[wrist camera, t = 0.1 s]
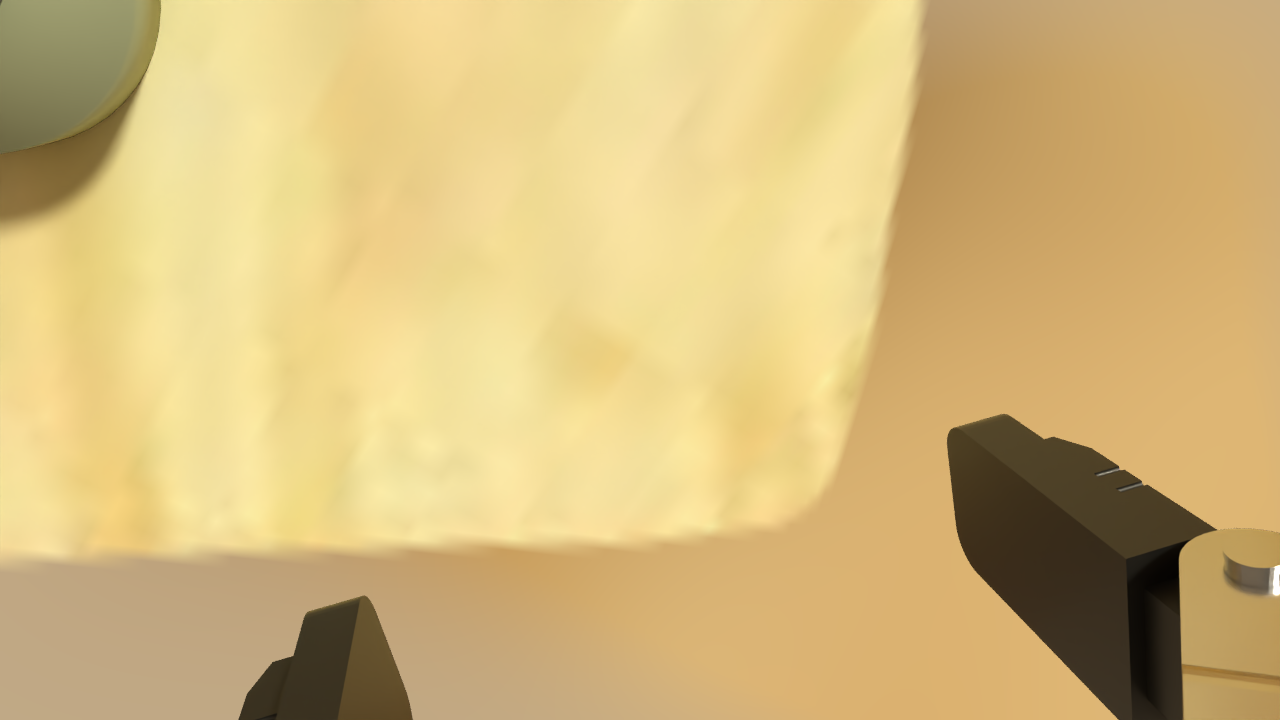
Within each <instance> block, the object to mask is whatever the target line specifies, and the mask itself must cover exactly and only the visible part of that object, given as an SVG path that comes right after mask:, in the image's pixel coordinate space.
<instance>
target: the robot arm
mask: <svg viewBox="0 0 1280 720" xmlns="http://www.w3.org/2000/svg"><path fill="white" fill-rule="evenodd" d="M947 448H948V458H949V466H950V475H951V483H952V493H953V502H954V510H955V520H956V527H957V533H958V537H959V540H960V543H961V546H962V548H963V551H964V553H965V555H966V557H967V559H968V561H969V562H970V564H971V566H972V567H973V568H974V570H975V571H976V572H977V573H978V574H979V575H980V576H981V577H982V578H983V579H984V581H985V582H987V584H988V585H989V586H990V587H991V588H992V589H993V590H994V591H995V592H996V593H997V594H998V595H999V596H1000V597H1001V598H1002V599H1003V600H1004V601H1005V602H1006V603H1007V604H1008V605H1009V606H1010V607H1011V608H1012V610H1013V611H1014V612H1015V613H1016V614H1017V615H1018V616H1019V617H1020V618H1021V619H1022V620H1023V621H1024V622H1025V623H1026V624H1027V625H1028V626H1029V627H1030V628H1031V629H1032V630H1033V631H1034V632H1035V633H1036V634H1037V635H1038V636H1039V638H1040V639H1041V640H1042V641H1043V642H1044V643H1045V644H1046V645H1047V646H1048V647H1049V648H1050V649H1051V650H1052V651H1053V652H1054V653H1055V654H1056V655H1057V656H1058V657H1059V658H1060V659H1061V660H1062V661H1063V663H1064V664H1065V665H1067V667H1068V668H1070V670H1071V671H1072V672H1073V673H1074V674H1075V675H1076V676H1077V677H1078V678H1079V679H1080V680H1081V681H1082V682H1083V683H1084V684H1085V685H1086V686H1087V687H1088V688H1089V690H1091V692H1092V693H1093V694H1094V695H1095V696H1096V697H1097V698H1098V699H1099V700H1100V701H1101V702H1102V703H1103V704H1104V705H1105V706H1106V707H1107V708H1108V709H1109V710H1110V711H1111V712H1112V713H1113V714H1114V715H1115V716H1116V717H1117V719H1119V720H1280V533H1278V532H1273V531H1267V530H1259V529H1245V528H1242V529H1241V528H1236V529H1223V530H1217V529H1215V528H1213V527H1212V526H1210V525H1209V524H1207V523H1206V522H1204V521H1203V520H1201V519H1200V518H1198V517H1196V516H1195V515H1193V514H1192V513H1190V512H1189V511H1187V510H1186V509H1184V508H1183V507H1181V506H1180V505H1178V504H1176V503H1175V502H1173V501H1172V500H1170V499H1169V498H1167V497H1166V496H1164V495H1162V494H1161V493H1159V492H1158V491H1156V490H1155V489H1153V488H1152V487H1150V486H1149V485H1145V486H1144V485H1143V484H1142V481H1141V480H1139V479H1138V478H1136V477H1135V476H1133V475H1132V474H1130V473H1129V472H1127V471H1126V470H1120V469H1119V466H1118V465H1116V464H1115V463H1113V462H1112V461H1110V460H1109V459H1107V458H1106V457H1104V456H1103V455H1101V454H1099V453H1098V452H1096V451H1095V450H1093V449H1092V448H1089V447H1085V446H1082V445H1079V444H1076V443H1072V442H1068V441H1066V440H1062V439H1059V438H1055V437H1051V438H1048V439H1043V438H1041V437H1040V436H1038V435H1037V434H1036V433H1034V432H1033V431H1031V430H1030V429H1028V428H1027V427H1025V426H1024V425H1022V424H1021V423H1020V422H1018V421H1017V420H1015V419H1014V418H1012V417H1011V416H1009V415H1006V414H1000V415H997V416H994V417H990V418H987V419H983V420H980V421H976V422H973V423H969V424H966V425H962V426H959V427H955V428H953V429H951V430H950V432H949V434H948V438H947ZM239 720H413V719H412V713H411V708H410V703H409V700H408V696H407V693H406V690H405V687H404V684H403V682H402V679H401V676H400V674H399V671H398V669H397V666H396V664H395V661H394V658H393V655H392V653H391V650H390V648H389V645H388V642H387V640H386V637H385V635H384V632H383V630H382V627H381V624H380V622H379V619H378V616H377V614H376V611H375V609H374V607H373V605H372V603H371V601H370V600H369V599H368V597H366V596H361V597H357V598H354V599H350V600H347V601H344V602H340V603H336V604H333V605H329V606H326V607H323V608H319V609H316V610H312V611H309V612H307V613H306V615H305V617H304V620H303V624H302V627H301V631H300V634H299V638H298V642H297V645H296V649H295V653H294V656H292V657H289V658H285V659H282V660H279V661H275V662H272V664H271V665H270V666H269V667H268V669H267V670H266V671H265V672H264V674H263V675H262V676H261V677H260V679H259V680H258V681H257V682H256V684H255V685H254V686H253V687H252V689H251V690H250V691H249V692H248V694H247V696H246V699H245V702H244V705H243V708H242V711H241V714H240V717H239Z"/></svg>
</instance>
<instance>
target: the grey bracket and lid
mask: <svg viewBox="0 0 1280 720" xmlns="http://www.w3.org/2000/svg"><path fill="white" fill-rule="evenodd" d="M160 13H161V0H0V154H2V153H8V152H14V151H19V150H24V149H28V148H32V147H36V146H40V145H44V144H48V143H53V142H56V141H59V140H62V139H66V138H69V137H72V136H75V135H77V134H79V133H81V132H83V131H85V130H87V129H90V128H92V127H93V126H95V125H96V124H98V123H99V122H101V121H102V120H104V119H105V118H107V117H108V116H110V115H111V114H112V113H113V112H114V111H115V110H116V109H117V108H118V107H120V106H121V105H122V104H123V103H124V102H125V101H126V99H127V98H128V97H129V96H130V94H131V93H132V92H133V91H134V90H135V88H136V87H137V85H138V84H139V82H140V80H141V78H142V77H143V75H144V73H145V72H146V70H147V67H148V65H149V62H150V60H151V57H152V55H153V52H154V49H155V45H156V41H157V36H158V32H159V24H160Z"/></svg>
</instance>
